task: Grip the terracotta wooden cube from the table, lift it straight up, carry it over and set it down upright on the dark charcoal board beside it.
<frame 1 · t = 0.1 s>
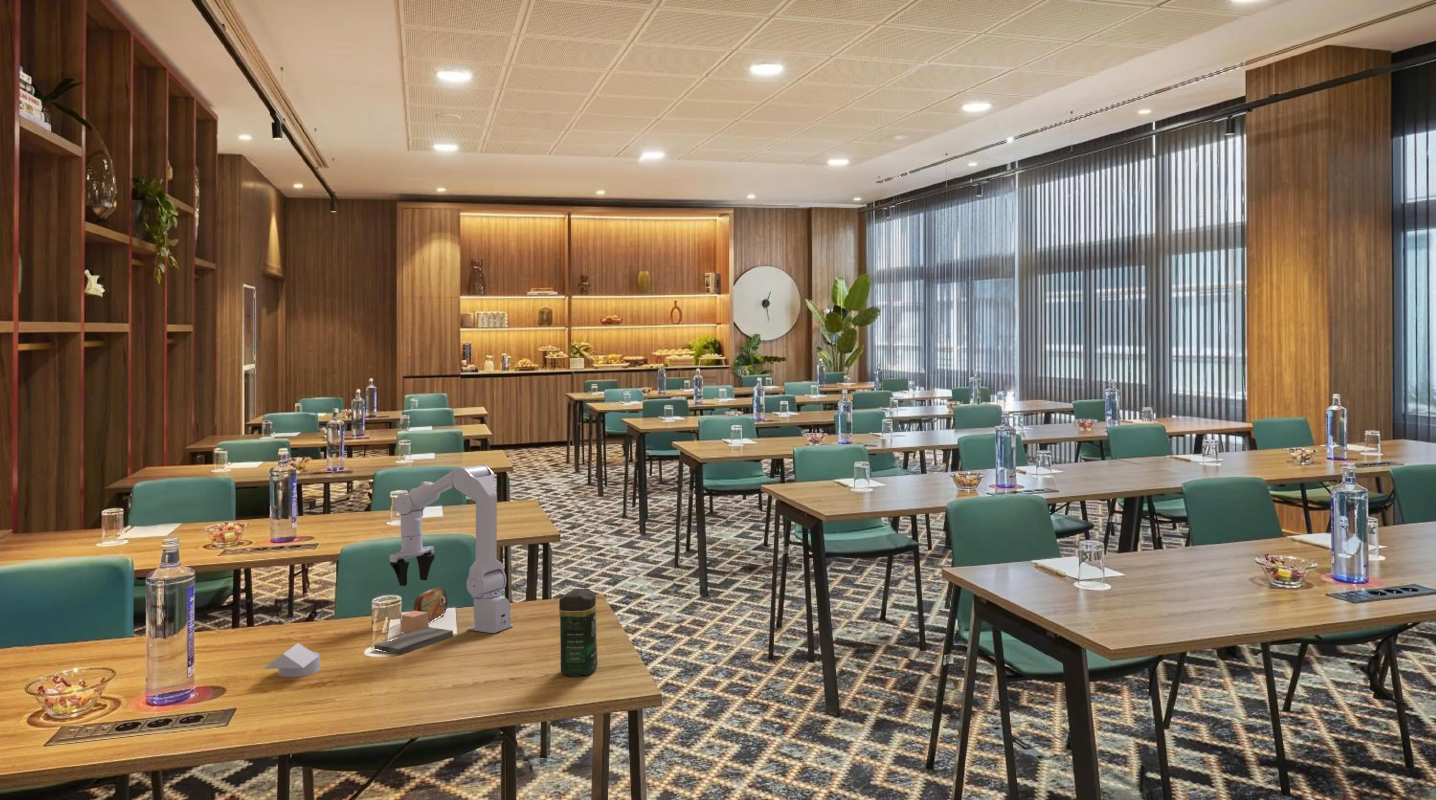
hand: (413, 582, 275), 10 cm above the table, tool pointing down, fingers open, 7 cm apart
cube: (415, 632, 261), on the table
tin: (431, 620, 273), on the table
coffee jar: (579, 671, 223), on the table
wedge on round base: (296, 674, 227), on the table
charcoal board: (414, 643, 250), on the table
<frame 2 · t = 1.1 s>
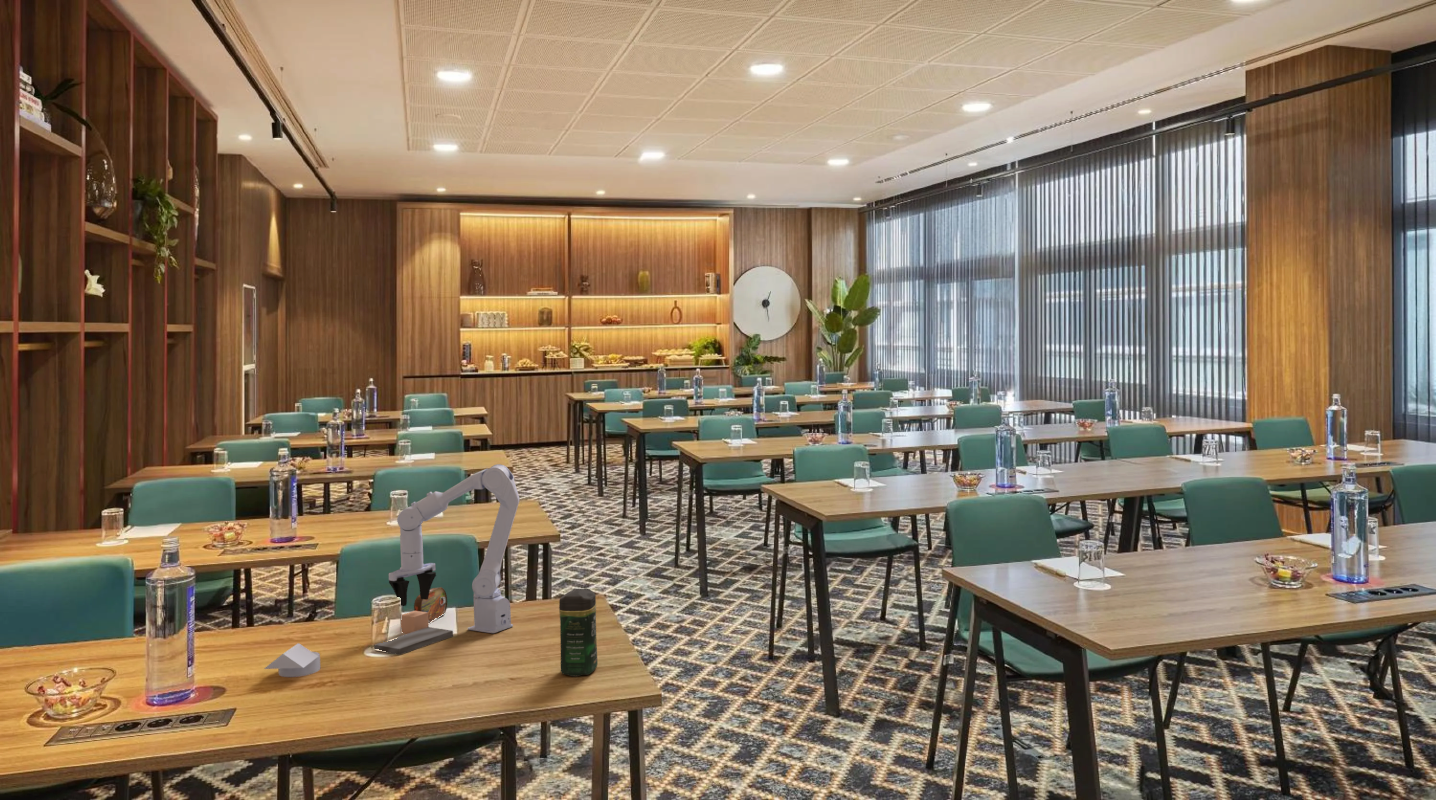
hand: (413, 602, 260), 8 cm above the table, tool pointing down, fingers open, 7 cm apart
nothing on the table moved.
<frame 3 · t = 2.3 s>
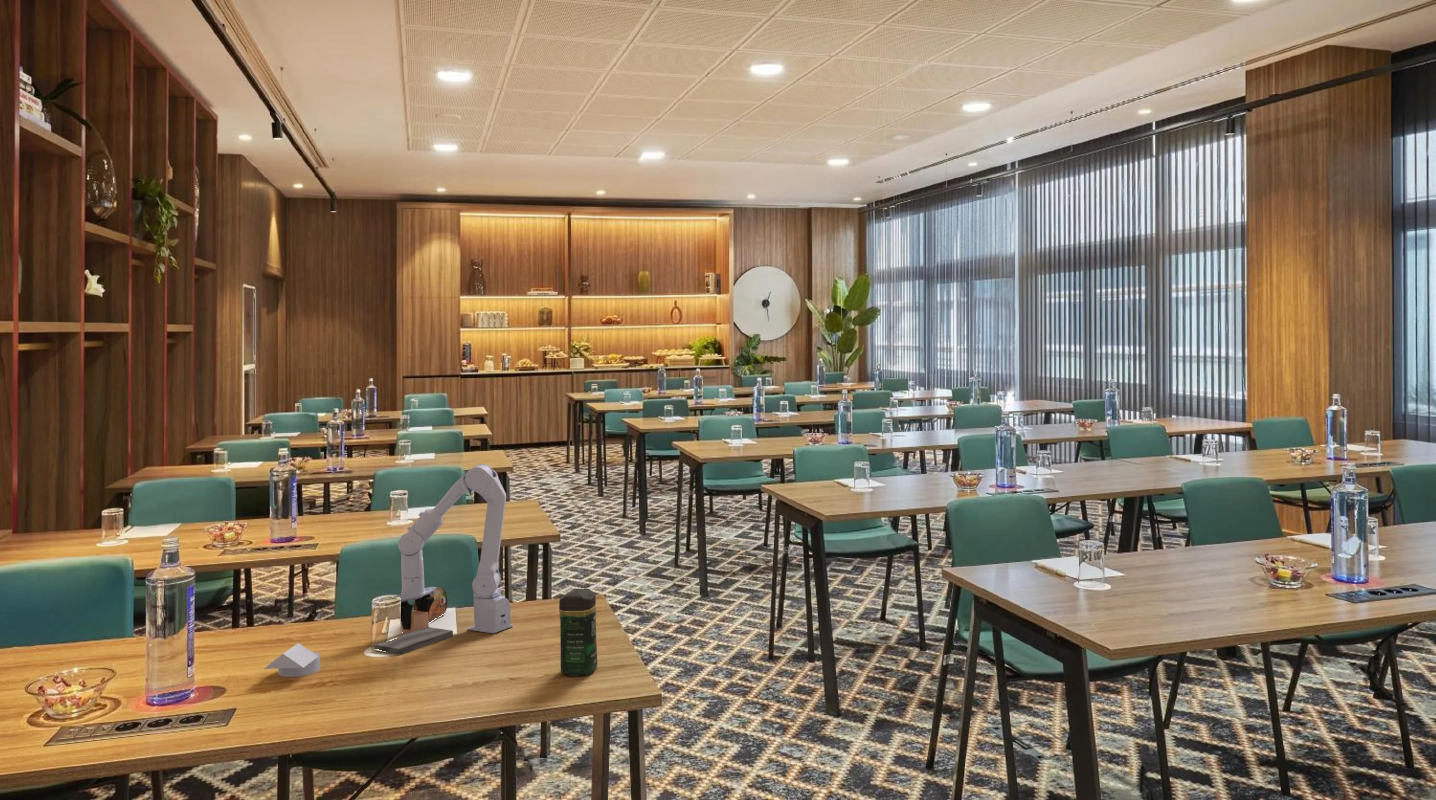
hand: (414, 626, 261), 1 cm above the table, tool pointing down, fingers closed on cube, 5 cm apart
cube: (415, 631, 261), on the table, touching gripper
everything else where it was.
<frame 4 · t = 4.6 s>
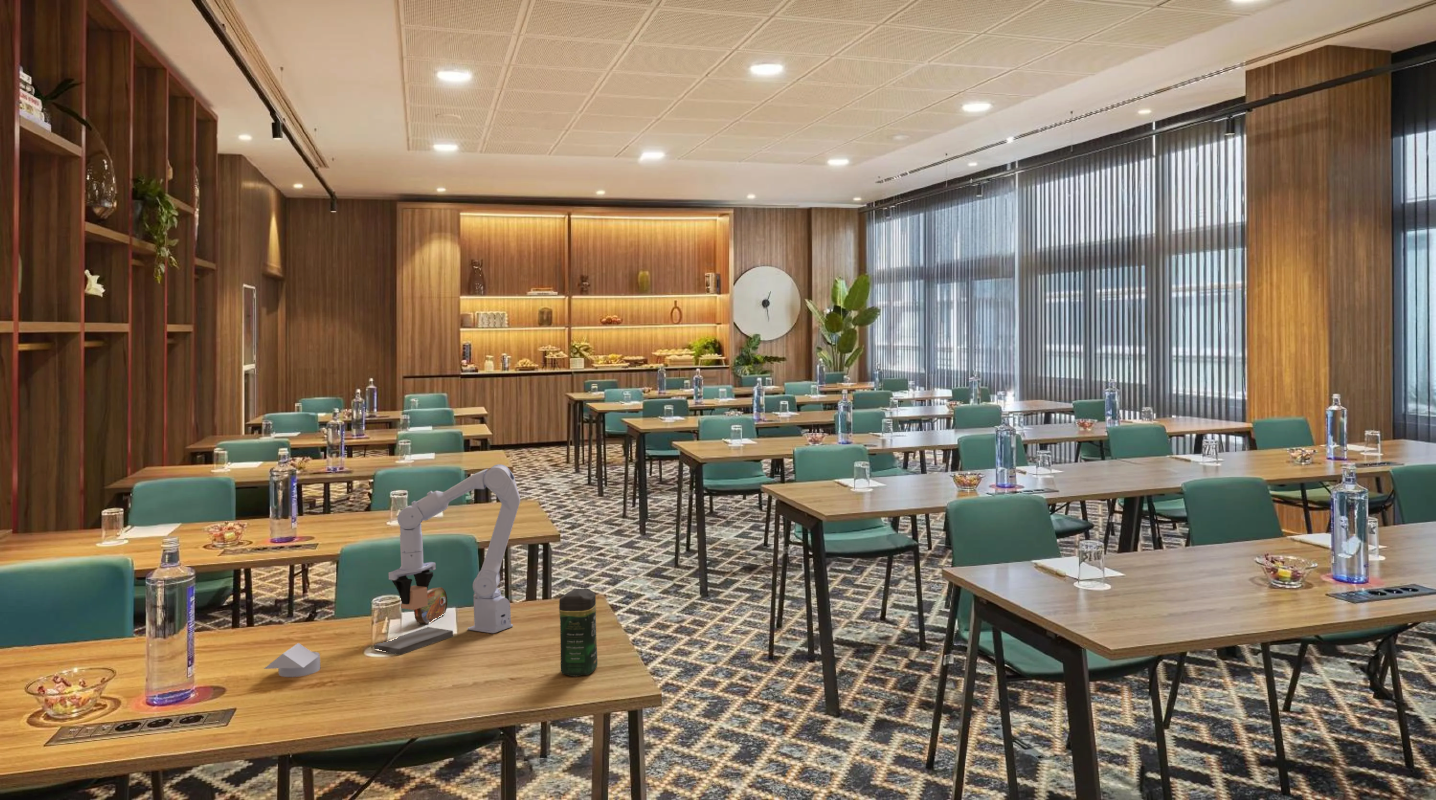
hand: (413, 601, 260), 8 cm above the table, tool pointing down, fingers closed on cube, 5 cm apart
cube: (414, 606, 260), point 7 cm above the table, touching gripper
everything else where it was.
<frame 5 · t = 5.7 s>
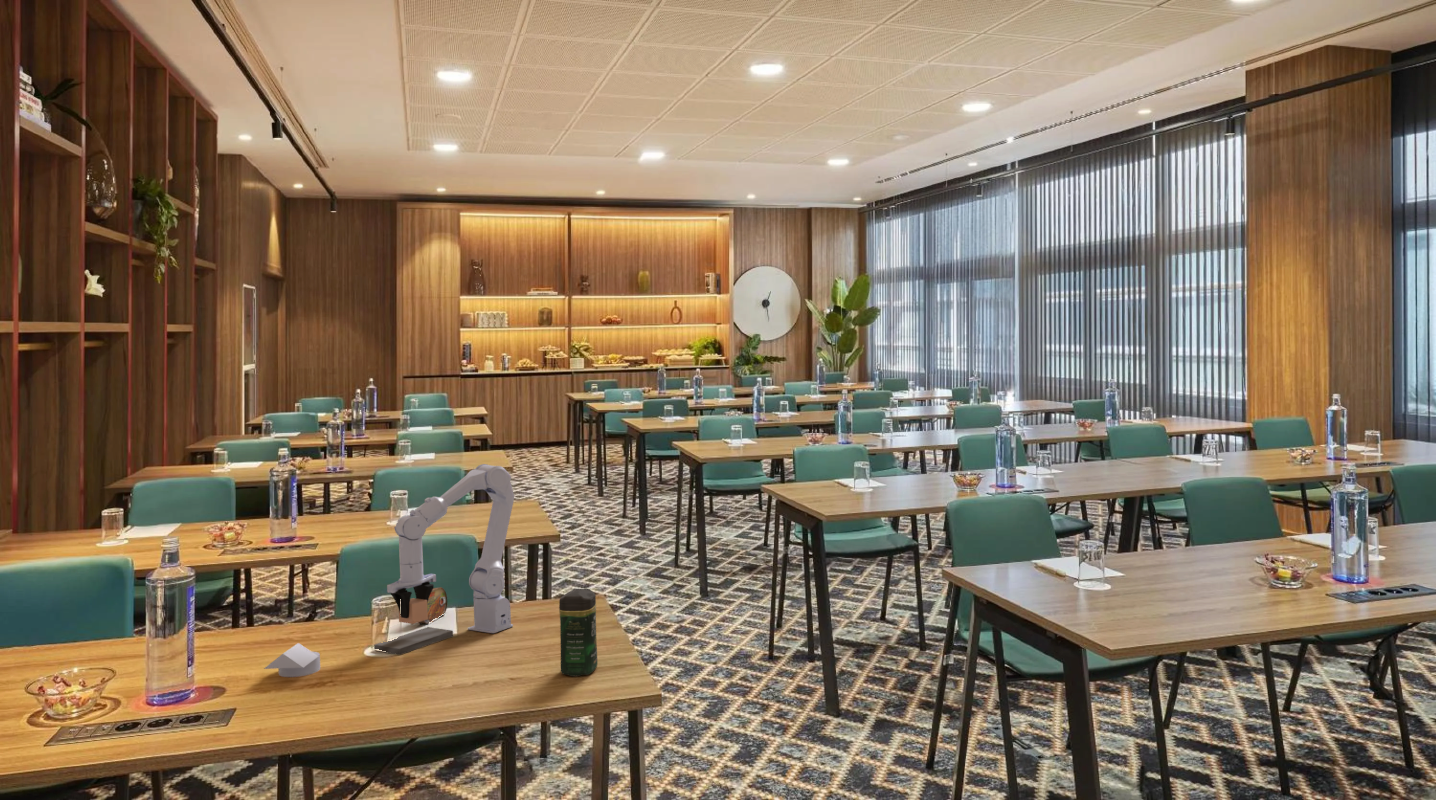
hand: (413, 614, 249), 7 cm above the table, tool pointing down, fingers closed on cube, 5 cm apart
cube: (413, 620, 249), point 6 cm above the table, touching gripper
everything else where it was.
when the fingers open (4 cm above the table, at t = 6.7 s): cube stays where it is, resting on charcoal board.
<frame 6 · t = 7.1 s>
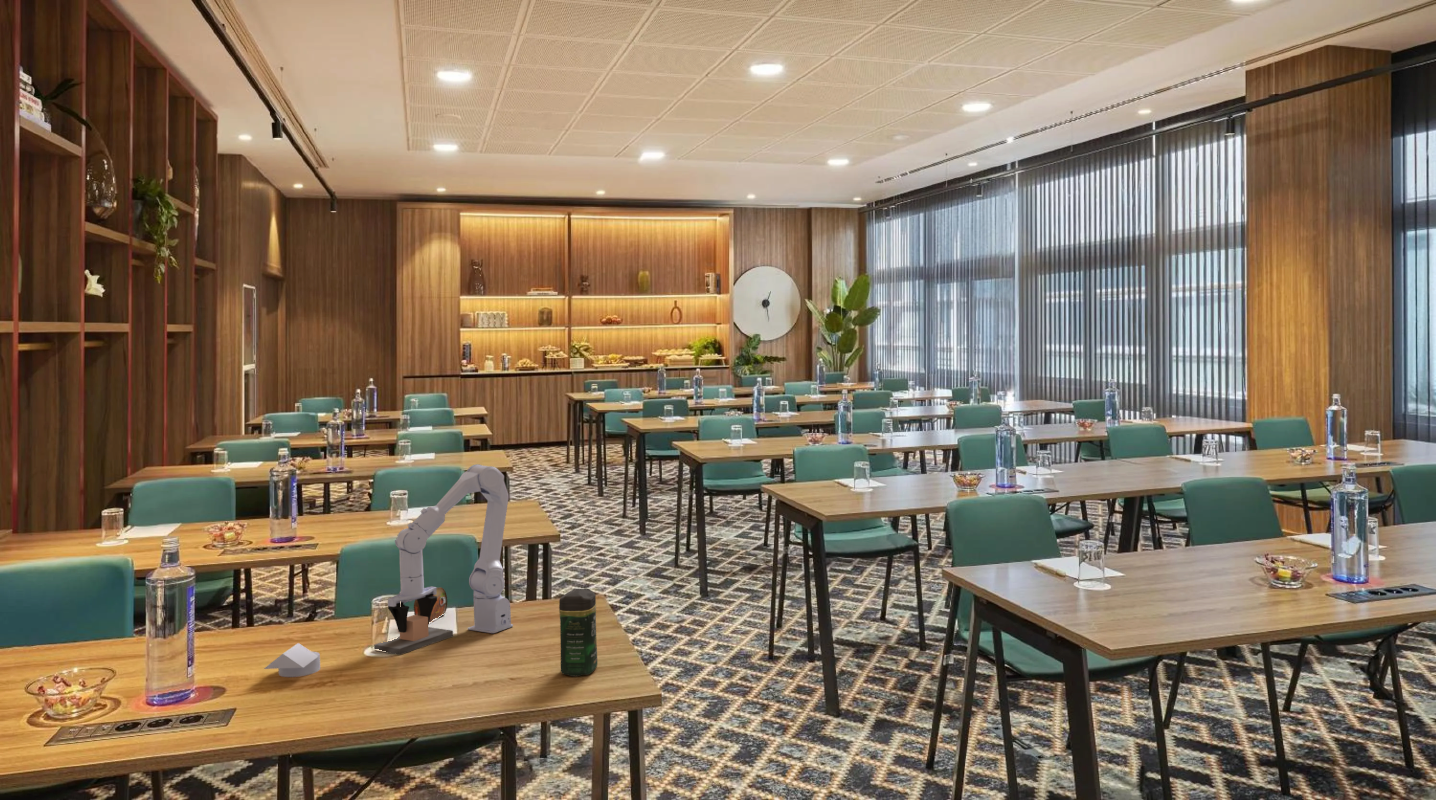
hand: (414, 628, 249), 4 cm above the table, tool pointing down, fingers open, 7 cm apart
cube: (414, 637, 250), point 1 cm above the table, touching charcoal board
everything else where it was.
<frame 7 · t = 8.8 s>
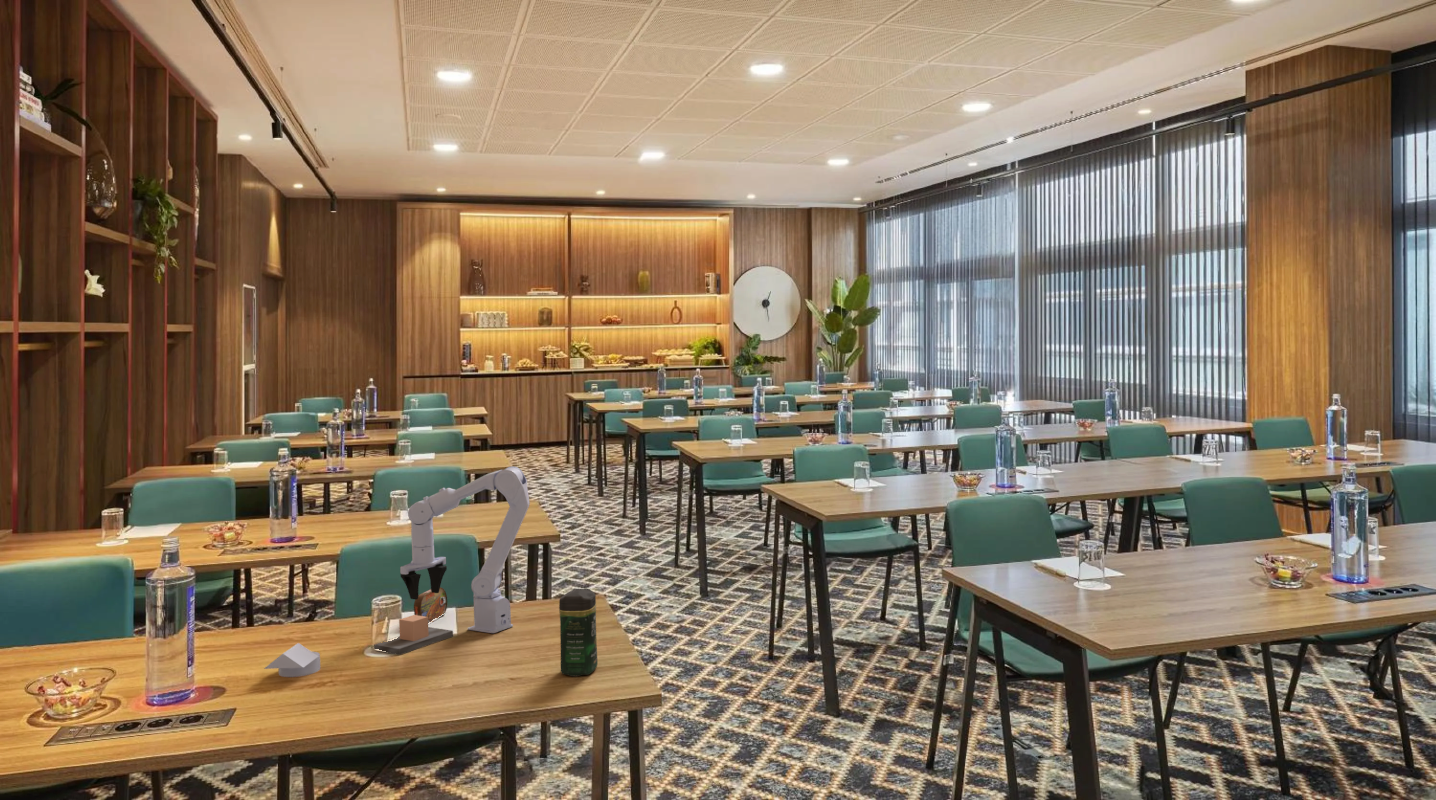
hand: (424, 595, 262), 9 cm above the table, tool pointing down, fingers open, 7 cm apart
nothing on the table moved.
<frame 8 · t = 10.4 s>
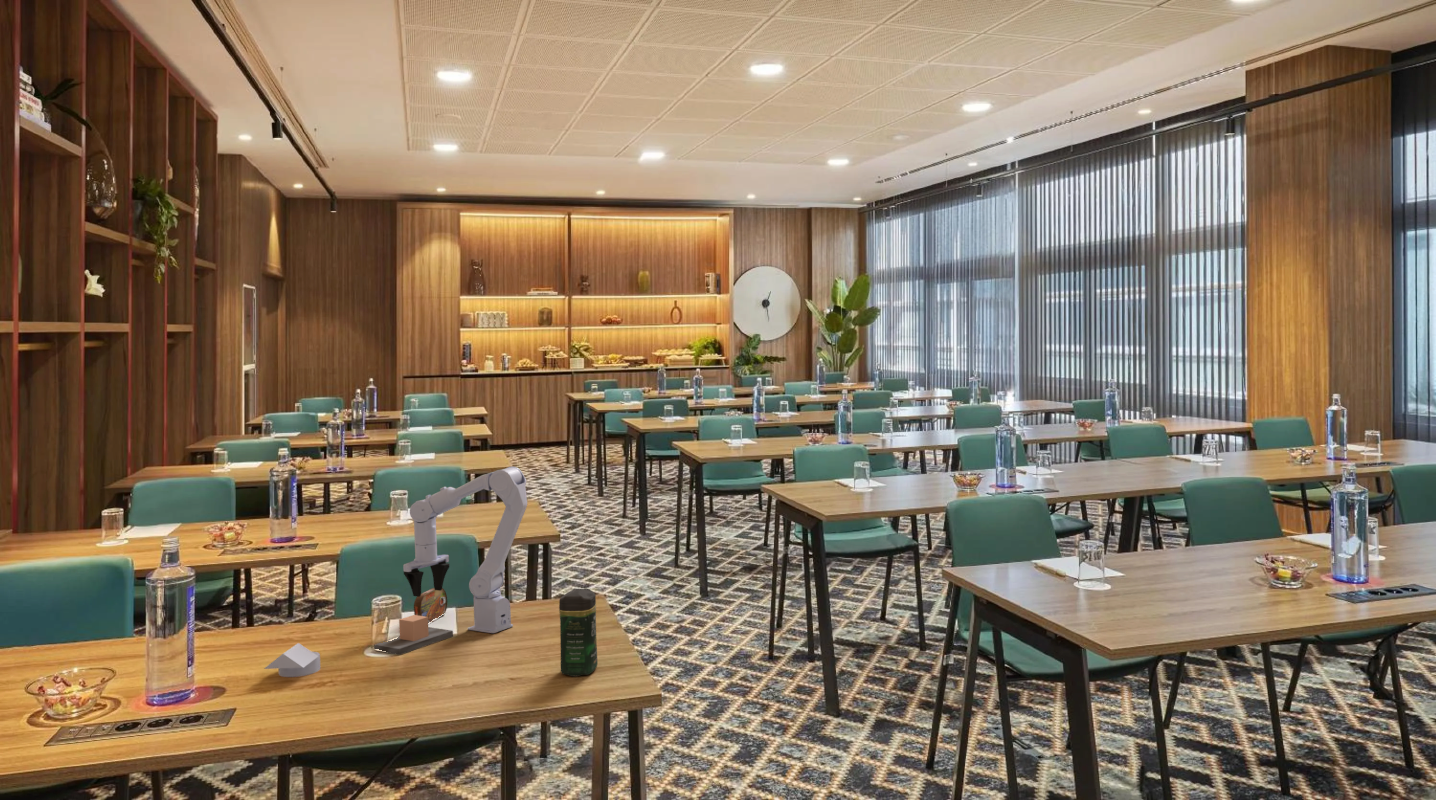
hand: (427, 592, 265), 9 cm above the table, tool pointing down, fingers open, 7 cm apart
nothing on the table moved.
at the end: cube inside the target area on the charcoal board (0.0 cm from its centre), point 1.5 cm above the charcoal board's base; cube tilted 0°; the gripper is holding nothing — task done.
